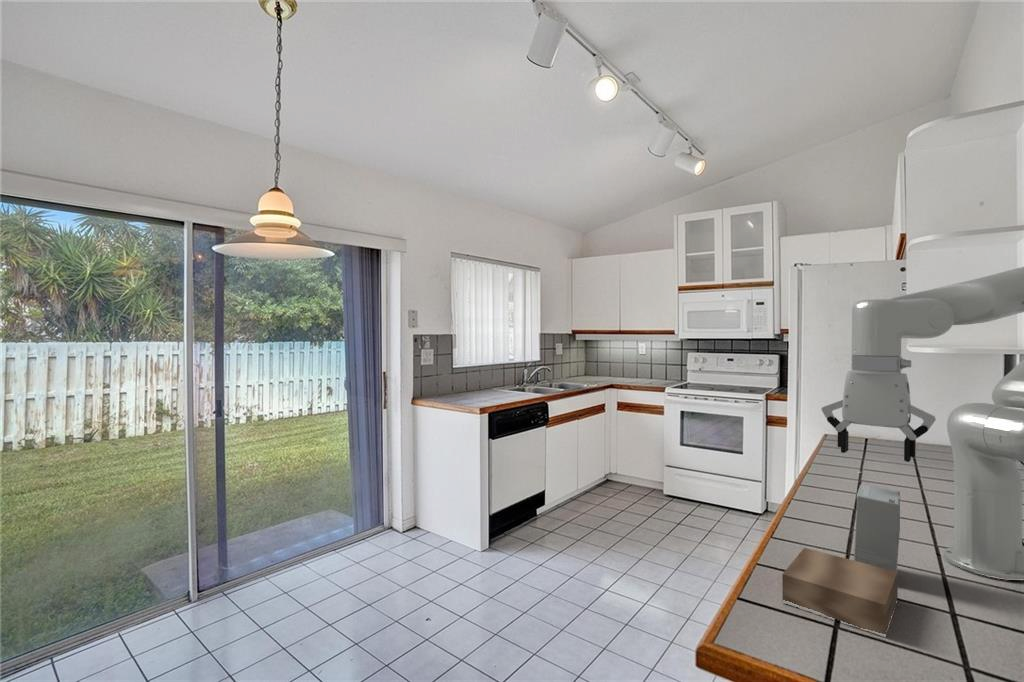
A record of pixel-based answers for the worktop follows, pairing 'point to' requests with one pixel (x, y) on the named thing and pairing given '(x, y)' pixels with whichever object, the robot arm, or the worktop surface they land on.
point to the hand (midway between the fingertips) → (875, 455)
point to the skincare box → (877, 526)
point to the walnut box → (842, 589)
